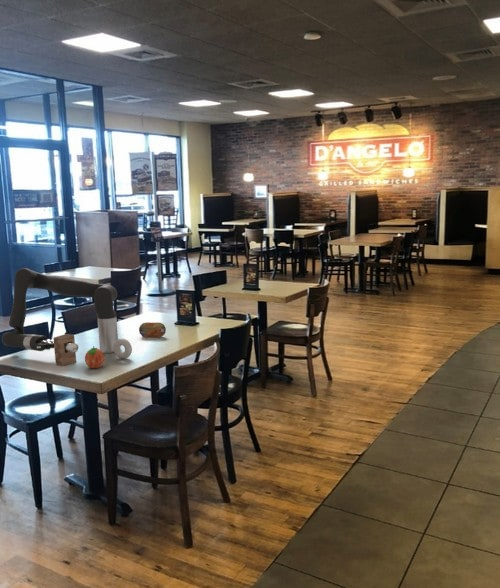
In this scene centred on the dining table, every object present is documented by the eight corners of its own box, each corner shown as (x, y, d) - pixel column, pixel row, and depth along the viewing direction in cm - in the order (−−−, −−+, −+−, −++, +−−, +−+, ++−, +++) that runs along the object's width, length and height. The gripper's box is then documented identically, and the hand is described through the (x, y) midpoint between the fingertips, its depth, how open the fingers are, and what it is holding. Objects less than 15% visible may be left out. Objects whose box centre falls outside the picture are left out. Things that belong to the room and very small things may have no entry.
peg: (58, 351, 273) (57, 342, 272) (65, 349, 276) (64, 340, 276) (72, 353, 268) (71, 344, 268) (78, 351, 272) (78, 342, 271)
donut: (112, 358, 279) (111, 338, 278) (116, 357, 282) (115, 336, 281) (129, 360, 275) (128, 339, 274) (134, 358, 278) (132, 338, 277)
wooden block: (55, 364, 272) (53, 337, 270) (68, 360, 279) (66, 333, 277) (63, 365, 270) (60, 338, 268) (76, 361, 277) (74, 334, 274)
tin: (139, 337, 322) (138, 322, 320) (141, 336, 325) (140, 321, 323) (164, 338, 318) (163, 323, 317) (167, 336, 321) (166, 321, 320)
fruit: (107, 364, 270) (106, 343, 268) (101, 370, 260) (99, 348, 258) (89, 365, 270) (87, 343, 268) (82, 371, 261) (80, 349, 259)
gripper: (23, 338, 277) (48, 341, 268) (45, 332, 288) (70, 335, 279) (24, 353, 278) (50, 357, 269) (46, 347, 289) (71, 350, 281)
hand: (60, 346), depth 274 cm, fingers closed
